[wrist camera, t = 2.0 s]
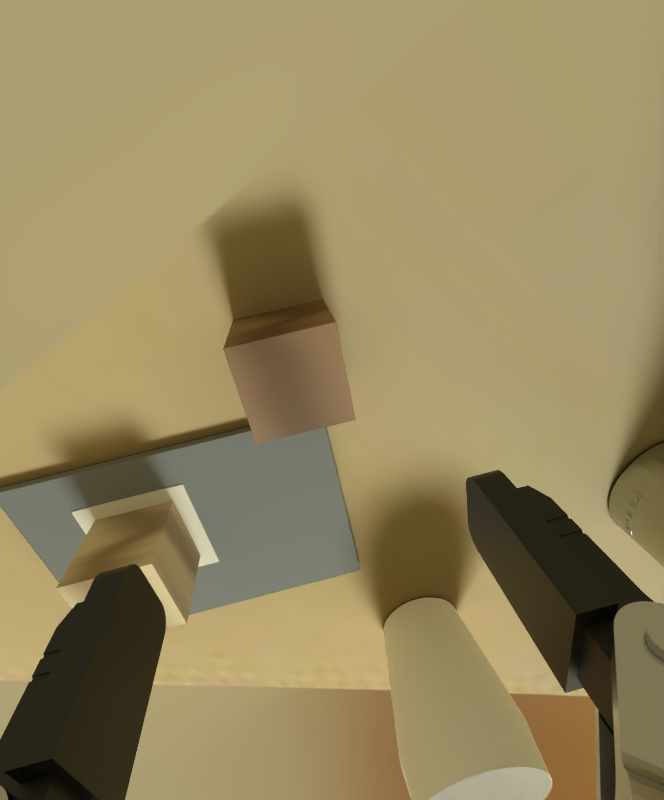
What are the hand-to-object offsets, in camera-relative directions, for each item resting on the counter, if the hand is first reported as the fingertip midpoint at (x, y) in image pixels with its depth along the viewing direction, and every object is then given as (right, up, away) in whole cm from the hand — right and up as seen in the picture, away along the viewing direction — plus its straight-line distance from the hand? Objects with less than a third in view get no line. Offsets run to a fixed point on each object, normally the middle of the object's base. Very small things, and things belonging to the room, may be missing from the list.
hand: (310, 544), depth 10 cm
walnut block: (-2, +6, +13) cm, 15 cm away
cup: (+8, -16, +26) cm, 31 cm away
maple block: (-12, -6, +17) cm, 21 cm away
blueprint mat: (-9, -6, +18) cm, 20 cm away
